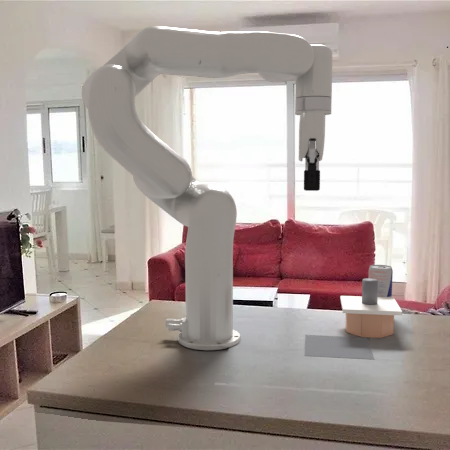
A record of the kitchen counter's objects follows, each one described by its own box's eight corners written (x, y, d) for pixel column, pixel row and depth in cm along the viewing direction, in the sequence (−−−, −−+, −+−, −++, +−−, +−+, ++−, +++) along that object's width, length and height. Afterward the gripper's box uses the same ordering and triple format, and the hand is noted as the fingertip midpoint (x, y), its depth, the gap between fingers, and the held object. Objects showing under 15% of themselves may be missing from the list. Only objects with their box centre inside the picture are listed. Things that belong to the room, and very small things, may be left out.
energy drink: (393, 316, 130) (395, 265, 129) (387, 321, 126) (388, 269, 124) (371, 312, 133) (372, 263, 132) (364, 318, 128) (365, 267, 127)
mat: (304, 357, 103) (304, 355, 103) (305, 336, 115) (305, 334, 115) (374, 361, 101) (374, 359, 101) (367, 339, 113) (367, 337, 113)
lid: (342, 313, 113) (343, 285, 112) (340, 299, 124) (340, 273, 123) (402, 315, 111) (403, 287, 110) (393, 301, 122) (394, 275, 122)
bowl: (347, 337, 114) (347, 311, 113) (344, 324, 124) (345, 300, 123) (395, 340, 113) (396, 313, 112) (389, 326, 122) (389, 302, 121)
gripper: (296, 111, 125) (295, 187, 127) (293, 103, 108) (292, 191, 110) (330, 110, 123) (328, 187, 125) (332, 102, 106) (331, 191, 108)
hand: (311, 189), depth 118 cm, fingers open, 9 cm apart
